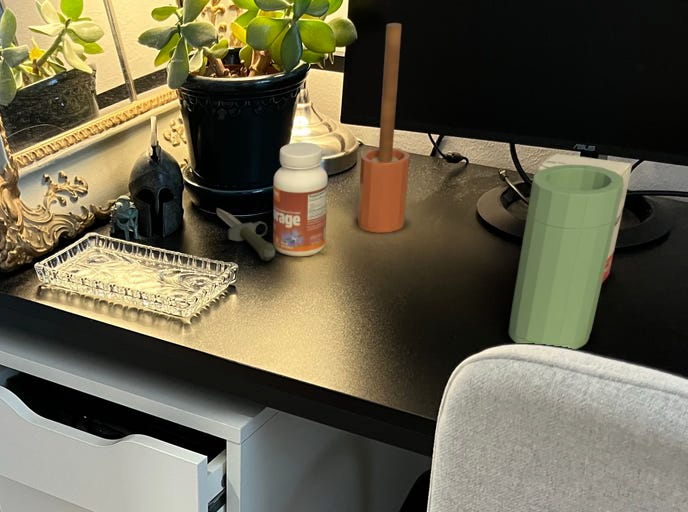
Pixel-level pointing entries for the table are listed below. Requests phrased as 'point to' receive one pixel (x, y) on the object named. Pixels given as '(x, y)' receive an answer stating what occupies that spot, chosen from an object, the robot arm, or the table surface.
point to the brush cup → (383, 192)
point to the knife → (248, 234)
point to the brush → (389, 93)
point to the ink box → (617, 167)
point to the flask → (564, 254)
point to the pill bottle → (300, 200)
